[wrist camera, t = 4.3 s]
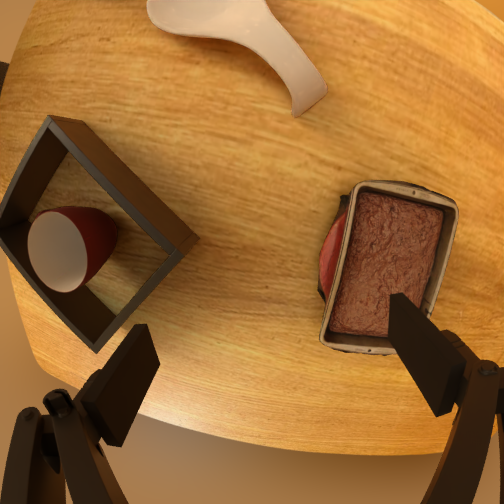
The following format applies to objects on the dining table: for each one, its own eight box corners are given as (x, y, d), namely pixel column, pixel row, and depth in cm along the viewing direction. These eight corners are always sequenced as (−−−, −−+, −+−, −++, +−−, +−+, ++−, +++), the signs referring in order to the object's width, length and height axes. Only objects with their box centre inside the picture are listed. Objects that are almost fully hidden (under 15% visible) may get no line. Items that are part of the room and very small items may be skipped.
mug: (59, 243, 34) (10, 265, 25) (69, 184, 32) (16, 192, 23) (124, 272, 35) (83, 306, 25) (139, 209, 33) (95, 226, 23)
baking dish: (293, 298, 37) (305, 354, 28) (338, 154, 30) (374, 171, 21) (391, 313, 38) (419, 362, 29) (442, 191, 31) (493, 219, 22)
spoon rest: (138, 15, 26) (114, -10, 19) (210, -39, 24) (201, -71, 17) (272, 139, 30) (274, 131, 23) (351, 76, 28) (371, 55, 21)
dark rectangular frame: (22, 220, 34) (-11, 231, 27) (82, 120, 30) (48, 114, 23) (119, 326, 37) (96, 354, 30) (200, 238, 34) (184, 256, 27)
